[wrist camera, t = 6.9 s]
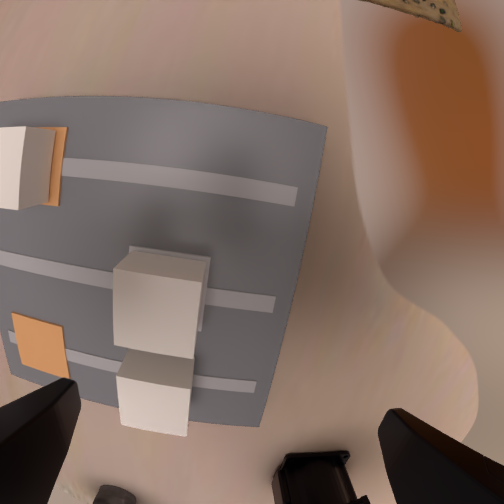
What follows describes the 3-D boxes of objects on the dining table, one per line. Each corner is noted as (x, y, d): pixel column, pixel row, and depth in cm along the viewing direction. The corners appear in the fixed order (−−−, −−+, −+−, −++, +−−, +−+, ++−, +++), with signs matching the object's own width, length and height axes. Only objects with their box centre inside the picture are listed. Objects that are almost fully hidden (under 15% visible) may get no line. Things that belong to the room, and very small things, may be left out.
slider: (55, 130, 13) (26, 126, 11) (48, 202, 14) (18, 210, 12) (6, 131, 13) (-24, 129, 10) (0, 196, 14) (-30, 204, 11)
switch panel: (316, 130, 17) (328, 126, 15) (256, 409, 22) (259, 428, 20) (16, 105, 15) (-3, 101, 12) (22, 361, 20) (10, 375, 17)
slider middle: (206, 261, 16) (202, 282, 13) (197, 328, 17) (193, 359, 14) (132, 250, 16) (113, 268, 13) (129, 317, 17) (114, 344, 14)
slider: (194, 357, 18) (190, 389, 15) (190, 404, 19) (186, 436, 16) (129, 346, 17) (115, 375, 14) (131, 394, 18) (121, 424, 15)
